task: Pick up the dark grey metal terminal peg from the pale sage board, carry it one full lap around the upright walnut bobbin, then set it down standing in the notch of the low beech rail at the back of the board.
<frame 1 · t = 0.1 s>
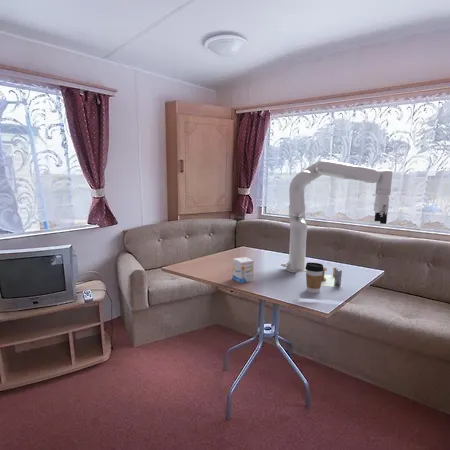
hand: (380, 222, 175), 31 cm above the table, tool pointing down, fingers open, 9 cm apart
bobbin: (320, 279, 167), resting on base board
base board: (326, 282, 166), on the table
coffee cup: (313, 293, 151), on the table
notched rail: (324, 275, 174), resting on base board
peg: (337, 285, 158), point 1 cm above the table, touching base board
ink box: (242, 280, 170), on the table
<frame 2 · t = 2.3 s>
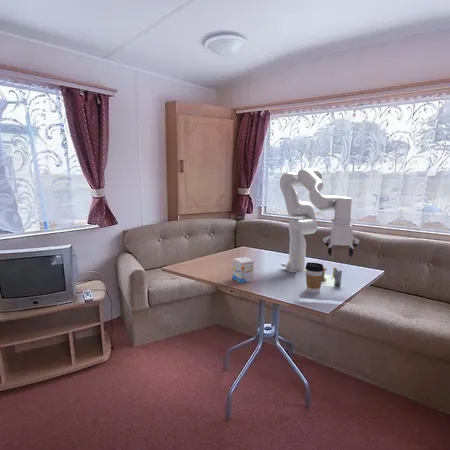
hand: (340, 255, 155), 17 cm above the table, tool pointing down, fingers open, 9 cm apart
nothing on the table moved.
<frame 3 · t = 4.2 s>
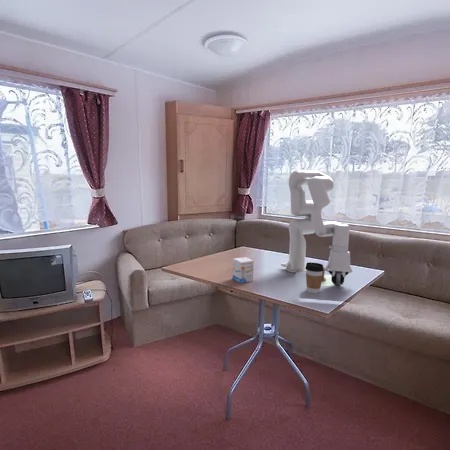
hand: (337, 283, 158), 3 cm above the table, tool pointing down, fingers closed on peg, 3 cm apart
peg: (337, 285, 158), point 2 cm above the table, touching base board, gripper
everything else where it was.
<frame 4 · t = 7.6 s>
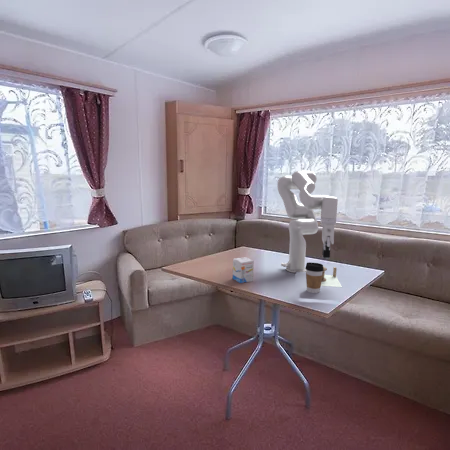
hand: (325, 256, 159), 16 cm above the table, tool pointing down, fingers closed on peg, 3 cm apart
peg: (325, 258, 159), point 15 cm above the table, touching gripper
everything else where it was.
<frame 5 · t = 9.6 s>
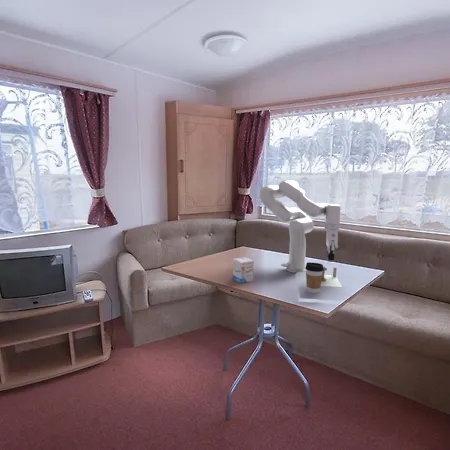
hand: (330, 259, 172), 11 cm above the table, tool pointing down, fingers closed on peg, 3 cm apart
peg: (330, 260, 172), point 10 cm above the table, touching gripper
everything else where it was.
when the fingers open (4 cm above the table, at t = 11.1 s): peg drops 1 cm, resting on base board.
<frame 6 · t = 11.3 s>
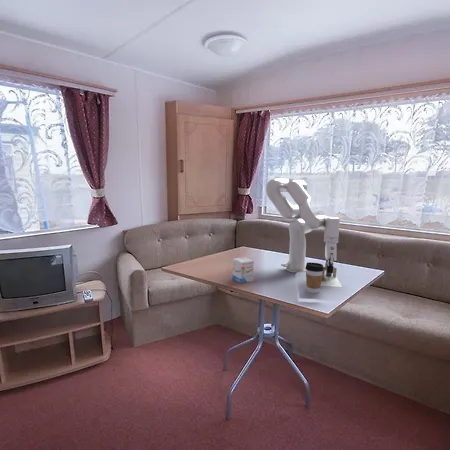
hand: (329, 270, 173), 4 cm above the table, tool pointing down, fingers open, 5 cm apart
peg: (328, 275, 174), point 2 cm above the table, touching base board
everything else where it was.
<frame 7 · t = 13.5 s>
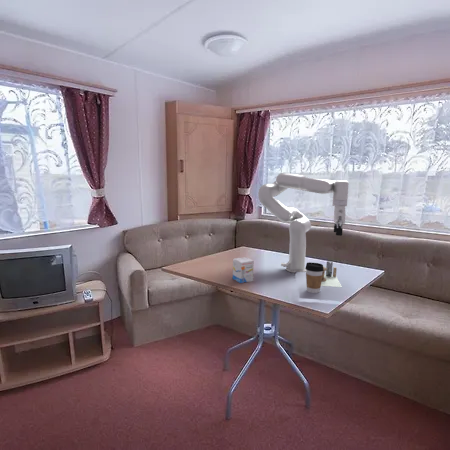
hand: (337, 233, 172), 25 cm above the table, tool pointing down, fingers open, 9 cm apart
nothing on the table moved.
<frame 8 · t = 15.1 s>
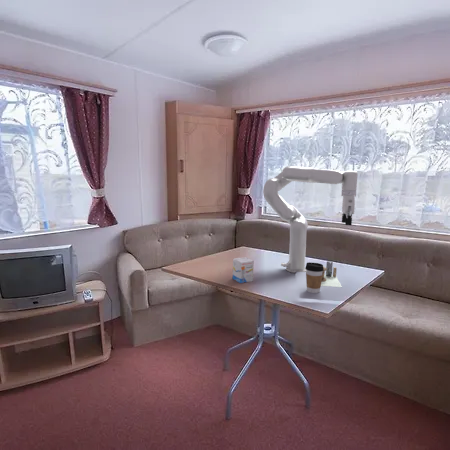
hand: (346, 223, 175), 30 cm above the table, tool pointing down, fingers open, 9 cm apart
nothing on the table moved.
at the end: peg 0.1 cm from the target spot, point 1.5 cm above the table; peg tilted 0°; the gripper is holding nothing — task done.
